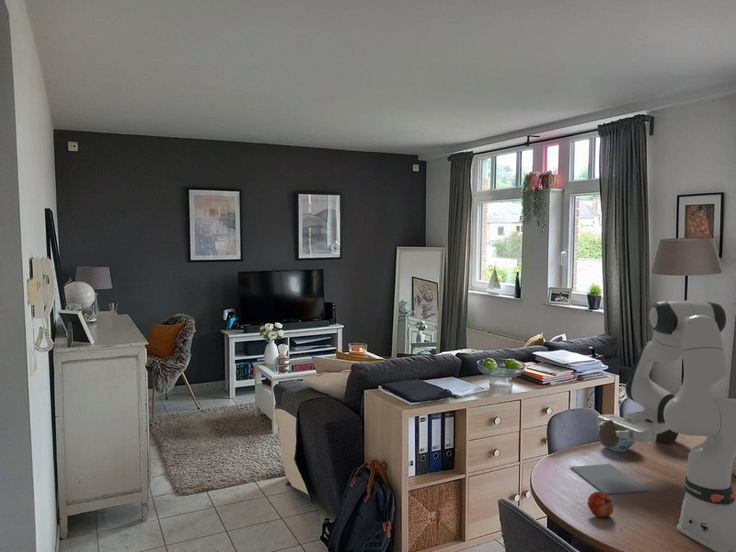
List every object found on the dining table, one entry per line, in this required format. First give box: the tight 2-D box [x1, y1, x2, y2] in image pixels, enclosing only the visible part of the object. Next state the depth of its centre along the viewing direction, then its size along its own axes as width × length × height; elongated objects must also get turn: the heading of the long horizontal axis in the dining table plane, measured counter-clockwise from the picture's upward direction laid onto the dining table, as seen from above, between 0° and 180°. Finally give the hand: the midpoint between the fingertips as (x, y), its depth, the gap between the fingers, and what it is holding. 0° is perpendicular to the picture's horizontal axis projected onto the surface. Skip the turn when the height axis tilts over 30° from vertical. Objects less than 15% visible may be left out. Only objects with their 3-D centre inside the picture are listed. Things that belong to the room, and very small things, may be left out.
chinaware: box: [597, 429, 637, 453], centre depth 235 cm, size 15×15×8 cm
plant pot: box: [655, 429, 680, 445], centre depth 244 cm, size 15×15×16 cm
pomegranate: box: [587, 491, 615, 518], centre depth 180 cm, size 7×7×10 cm
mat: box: [570, 463, 649, 496], centre depth 206 cm, size 22×16×1 cm
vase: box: [598, 420, 620, 448], centre depth 205 cm, size 7×7×9 cm
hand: (607, 430), depth 205 cm, fingers closed on vase, 7 cm apart
